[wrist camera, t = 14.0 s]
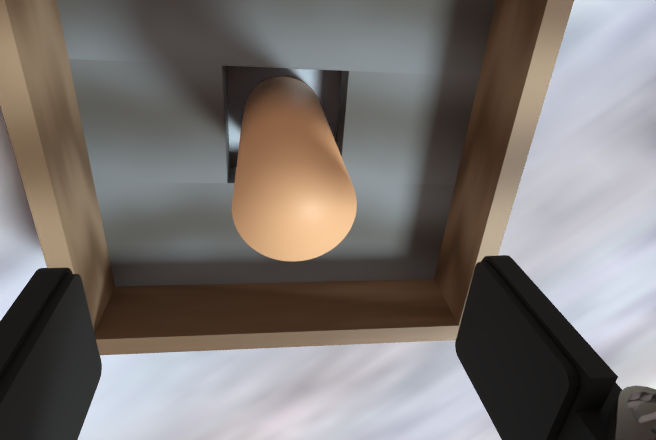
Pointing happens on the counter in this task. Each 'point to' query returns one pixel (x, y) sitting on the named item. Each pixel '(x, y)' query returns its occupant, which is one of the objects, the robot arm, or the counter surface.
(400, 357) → the counter surface
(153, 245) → the bore box
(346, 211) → the peg
